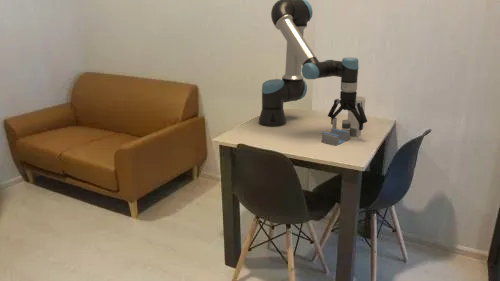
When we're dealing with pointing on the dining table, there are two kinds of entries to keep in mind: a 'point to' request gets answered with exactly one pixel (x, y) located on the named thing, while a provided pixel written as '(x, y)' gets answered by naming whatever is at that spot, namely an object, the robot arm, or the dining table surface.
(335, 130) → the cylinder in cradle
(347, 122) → the plug
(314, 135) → the dining table surface
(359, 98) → the cup
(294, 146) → the dining table surface
